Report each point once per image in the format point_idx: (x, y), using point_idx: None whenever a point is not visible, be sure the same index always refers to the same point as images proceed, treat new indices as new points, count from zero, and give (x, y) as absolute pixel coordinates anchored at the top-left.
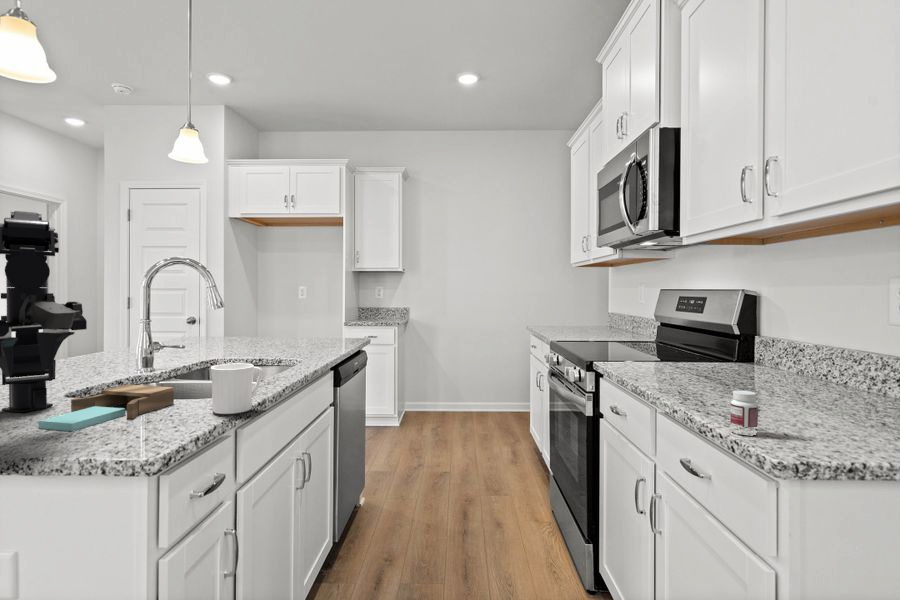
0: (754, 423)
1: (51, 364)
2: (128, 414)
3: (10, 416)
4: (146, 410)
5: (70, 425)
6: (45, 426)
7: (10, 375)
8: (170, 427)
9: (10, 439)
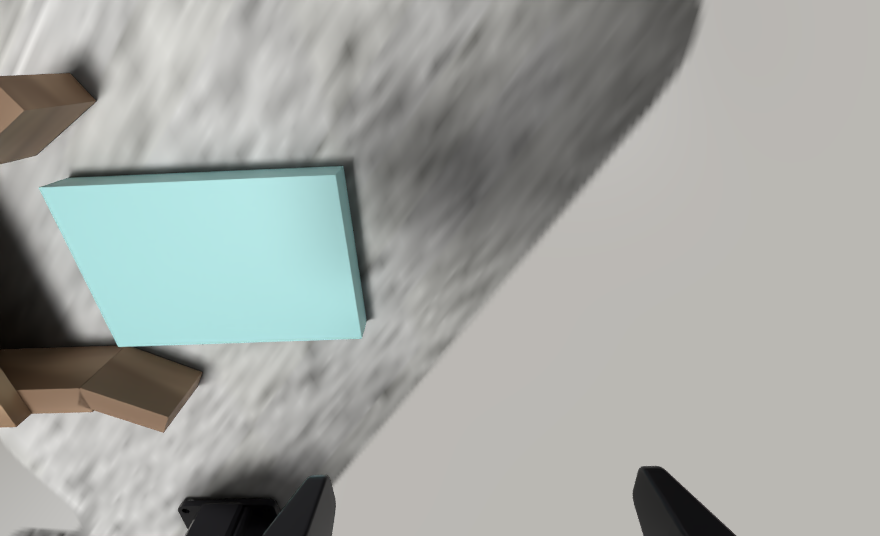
0: None
1: (286, 509)
2: (70, 96)
3: None
4: None
5: (339, 180)
6: (360, 297)
7: (649, 466)
8: None
9: (496, 280)
